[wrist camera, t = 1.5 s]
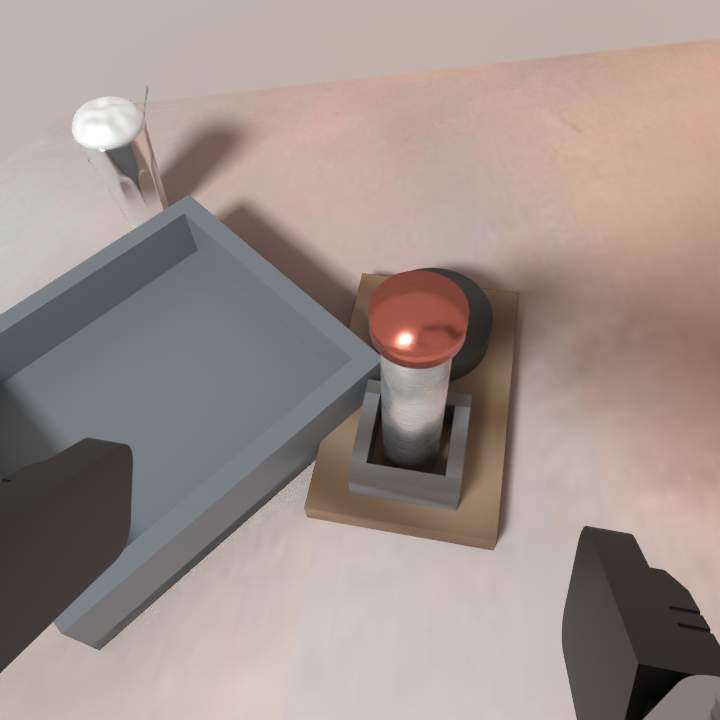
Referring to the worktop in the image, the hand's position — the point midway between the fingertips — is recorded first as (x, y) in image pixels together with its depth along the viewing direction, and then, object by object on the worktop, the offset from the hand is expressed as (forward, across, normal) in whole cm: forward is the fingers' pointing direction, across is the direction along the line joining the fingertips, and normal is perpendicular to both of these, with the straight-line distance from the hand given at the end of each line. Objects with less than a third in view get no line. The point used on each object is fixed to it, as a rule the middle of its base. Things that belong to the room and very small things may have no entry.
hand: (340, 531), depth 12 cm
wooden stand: (+28, 0, +6) cm, 28 cm away
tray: (+26, +15, +8) cm, 31 cm away
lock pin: (+24, 0, +7) cm, 25 cm away
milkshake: (+37, +22, -3) cm, 43 cm away
